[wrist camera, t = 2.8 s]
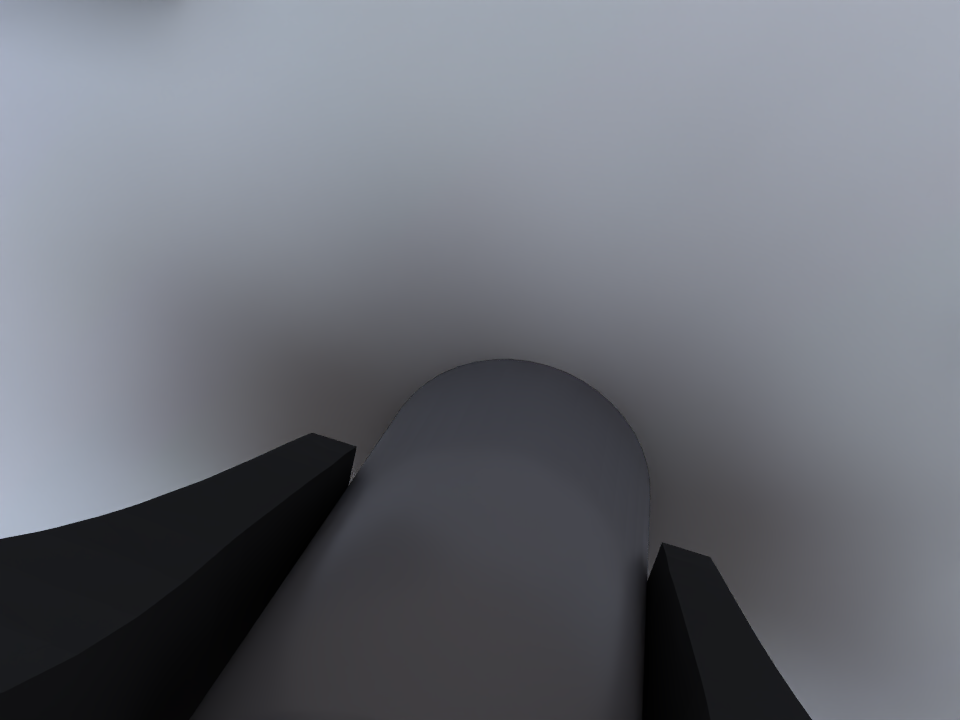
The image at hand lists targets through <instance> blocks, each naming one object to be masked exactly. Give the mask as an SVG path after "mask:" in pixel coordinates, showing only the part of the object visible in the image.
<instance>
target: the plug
mask: <svg viewBox="0 0 960 720" xmlns="http://www.w3.org/2000/svg"><path fill="white" fill-rule="evenodd" d="M649 513H650V479H649V474H648V468H647V463H646V460H645V457H644V454H643V451H642V448H641V446H640V444H639V442H638V440H637V438H636V436H635V434H634V432H633V430H632V429H631V427H630V426H629V424H628V423H627V421H626V420H625V418H624V417H623V416H622V415H621V414H620V412H619V411H618V410H617V409H616V408H615V407H614V406H613V405H612V403H610V402H609V401H608V400H607V399H606V398H605V397H604V396H602V395H601V394H600V393H599V392H598V391H596V390H595V389H593V388H592V387H591V386H589V385H588V384H586V383H585V382H583V381H581V380H580V379H578V378H576V377H574V376H572V375H570V374H568V373H566V372H563V371H561V370H558V369H555V368H552V367H550V366H547V365H542V364H538V363H534V362H529V361H520V360H511V359H508V360H487V361H480V362H474V363H470V364H467V365H463V366H460V367H456V368H454V369H452V370H450V371H447V372H445V373H443V374H441V375H439V376H437V377H436V378H434V379H432V380H431V381H429V382H427V383H426V384H425V385H424V386H423V387H421V388H420V389H419V390H418V391H416V392H415V393H414V394H413V395H412V396H411V398H410V399H409V400H408V401H407V402H406V403H405V404H404V405H403V407H402V408H401V410H400V411H399V413H398V414H397V416H396V417H395V419H394V420H393V421H392V423H391V424H390V426H389V427H388V429H387V430H386V432H385V433H384V435H383V436H382V438H381V439H380V441H379V442H378V443H377V445H376V446H375V448H374V449H373V451H372V452H371V454H370V455H369V457H368V458H367V460H366V461H365V463H364V464H363V465H362V467H361V468H360V470H359V471H358V473H357V474H356V476H355V477H354V479H353V480H352V482H351V483H350V485H349V486H348V487H347V489H346V490H345V492H344V493H343V495H342V496H341V498H340V499H339V501H338V502H337V504H336V505H335V507H334V508H333V509H332V511H331V512H330V514H329V515H328V517H327V518H326V520H325V521H324V523H323V524H322V526H321V527H320V529H319V530H318V531H317V533H316V534H315V536H314V537H313V539H312V540H311V542H310V543H309V545H308V546H307V548H306V549H305V551H304V552H303V553H302V555H301V556H300V558H299V559H298V561H297V562H296V564H295V565H294V567H293V568H292V570H291V571H290V573H289V574H288V575H287V577H286V578H285V580H284V581H283V583H282V584H281V586H280V587H279V589H278V590H277V592H276V593H275V595H274V596H273V597H272V599H271V600H270V602H269V603H268V605H267V606H266V608H265V609H264V611H263V612H262V614H261V615H260V617H259V618H258V619H257V621H256V622H255V624H254V625H253V627H252V628H251V630H250V631H249V633H248V634H247V636H246V637H245V639H244V640H243V641H242V643H241V644H240V646H239V647H238V649H237V650H236V652H235V653H234V655H233V656H232V658H231V659H230V661H229V662H228V663H227V665H226V666H225V668H224V669H223V671H222V672H221V674H220V675H219V677H218V678H217V680H216V681H215V683H214V684H213V685H212V687H211V688H210V690H209V691H208V693H207V694H206V696H205V697H204V699H203V700H202V702H201V703H200V705H199V706H198V707H197V709H196V710H195V712H194V713H193V715H192V716H191V718H190V719H189V720H642V711H643V683H644V655H645V626H646V598H647V570H648V541H649Z"/></svg>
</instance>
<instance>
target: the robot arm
mask: <svg viewBox="0 0 960 720" xmlns="http://www.w3.org/2000/svg"><path fill="white" fill-rule="evenodd" d="M355 451H356V446H353V445H350V444H347V443H343V442H340V441H337V440H334V439H331V438H327V437H324V436H321V435H318V434H315V433H311V434H308V435H306V436H303V437H301V438H298V439H296V440H294V441H291V442H289V443H287V444H285V445H283V446H280V447H278V448H276V449H274V450H272V451H269V452H267V453H265V454H263V455H260V456H258V457H256V458H254V459H252V460H249V461H247V462H245V463H242V464H240V465H238V466H235V467H233V468H231V469H228V470H226V471H224V472H221V473H219V474H217V475H214V476H212V477H210V478H207V479H205V480H202V481H200V482H197V483H194V484H192V485H189V486H186V487H184V488H181V489H178V490H175V491H173V492H170V493H167V494H165V495H162V496H159V497H156V498H154V499H151V500H148V501H146V502H143V503H140V504H137V505H134V506H131V507H128V508H125V509H122V510H119V511H115V512H112V513H109V514H105V515H102V516H99V517H95V518H91V519H87V520H83V521H80V522H76V523H72V524H68V525H64V526H61V527H57V528H53V529H48V530H44V531H40V532H35V533H29V534H24V535H19V536H14V537H8V538H3V539H0V720H189V719H190V718H191V716H192V715H193V713H194V712H195V710H196V709H197V707H198V706H199V705H200V703H201V702H202V700H203V699H204V697H205V696H206V694H207V693H208V691H209V690H210V688H211V687H212V685H213V684H214V683H215V681H216V680H217V678H218V677H219V675H220V674H221V672H222V671H223V669H224V668H225V666H226V665H227V663H228V662H229V661H230V659H231V658H232V656H233V655H234V653H235V652H236V650H237V649H238V647H239V646H240V644H241V643H242V641H243V640H244V639H245V637H246V636H247V634H248V633H249V631H250V630H251V628H252V627H253V625H254V624H255V622H256V621H257V619H258V618H259V617H260V615H261V614H262V612H263V611H264V609H265V608H266V606H267V605H268V603H269V602H270V600H271V599H272V597H273V596H274V595H275V593H276V592H277V590H278V589H279V587H280V586H281V584H282V583H283V581H284V580H285V578H286V577H287V575H288V574H289V573H290V571H291V570H292V568H293V567H294V565H295V564H296V562H297V561H298V559H299V558H300V556H301V555H302V553H303V552H304V551H305V549H306V548H307V546H308V545H309V543H310V542H311V540H312V539H313V537H314V536H315V534H316V533H317V531H318V530H319V529H320V527H321V526H322V524H323V523H324V521H325V520H326V518H327V517H328V515H329V514H330V512H331V511H332V509H333V508H334V507H335V505H336V504H337V502H338V501H339V499H340V498H341V496H342V495H343V493H344V492H345V490H346V489H347V487H348V485H349V480H350V475H351V471H352V466H353V461H354V456H355ZM642 720H812V719H811V718H810V716H809V715H808V713H807V712H806V711H805V709H804V708H803V706H802V705H801V704H800V702H799V701H798V699H797V698H796V697H795V695H794V694H793V692H792V691H791V689H790V688H789V686H788V685H787V683H786V682H785V680H784V679H783V677H782V676H781V674H780V673H779V671H778V670H777V668H776V667H775V665H774V664H773V662H772V660H771V659H770V657H769V656H768V654H767V653H766V651H765V649H764V648H763V646H762V645H761V643H760V641H759V640H758V638H757V636H756V635H755V633H754V631H753V630H752V628H751V626H750V625H749V623H748V621H747V620H746V618H745V616H744V614H743V613H742V611H741V609H740V608H739V606H738V604H737V602H736V601H735V599H734V597H733V596H732V594H731V592H730V590H729V589H728V587H727V585H726V583H725V582H724V580H723V578H722V576H721V575H720V573H719V571H718V569H717V568H716V566H715V564H714V563H713V561H712V560H711V558H710V557H708V556H705V555H701V554H698V553H695V552H692V551H689V550H685V549H682V548H679V547H676V546H673V545H669V544H666V543H663V542H662V544H661V547H660V549H659V552H658V555H657V557H656V560H655V563H654V565H653V568H652V570H651V573H650V576H649V578H648V581H647V598H646V626H645V655H644V683H643V711H642Z"/></svg>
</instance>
